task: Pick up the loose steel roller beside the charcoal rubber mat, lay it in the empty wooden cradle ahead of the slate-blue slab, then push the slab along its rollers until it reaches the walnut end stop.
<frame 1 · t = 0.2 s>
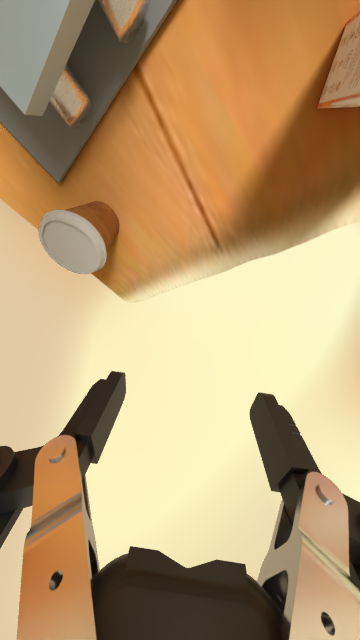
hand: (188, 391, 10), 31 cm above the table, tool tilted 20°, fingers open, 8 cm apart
disposable coffee cup: (103, 220, 34), on the table
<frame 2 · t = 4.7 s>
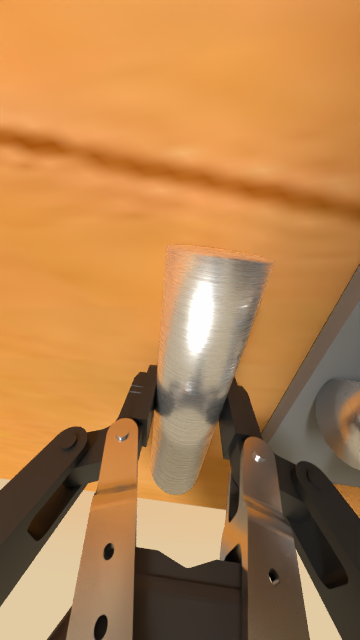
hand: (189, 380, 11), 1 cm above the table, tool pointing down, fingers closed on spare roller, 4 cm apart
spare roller: (196, 371, 12), on the table, tilted 12°, touching gripper
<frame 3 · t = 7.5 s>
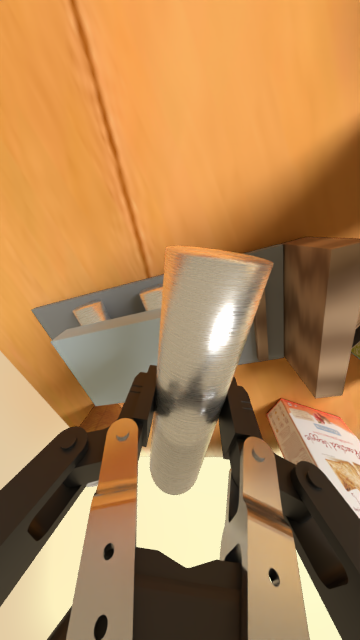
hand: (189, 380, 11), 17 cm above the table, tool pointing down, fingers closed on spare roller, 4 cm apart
mat: (161, 331, 29), on the table
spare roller: (195, 372, 12), point 16 cm above the table, tilted 13°, touching gripper
disposable coffee cup: (109, 408, 40), on the table
bed rollers: (143, 337, 29), resting on mat
wooden stops: (233, 316, 27), on the table
cracker box: (301, 413, 37), on the table
slab: (132, 360, 24), point 7 cm above the table, slide at 0.0 cm
when the fingers open (3 cm above the table, at t = 10.5 s): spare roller stays where it is, resting on mat.
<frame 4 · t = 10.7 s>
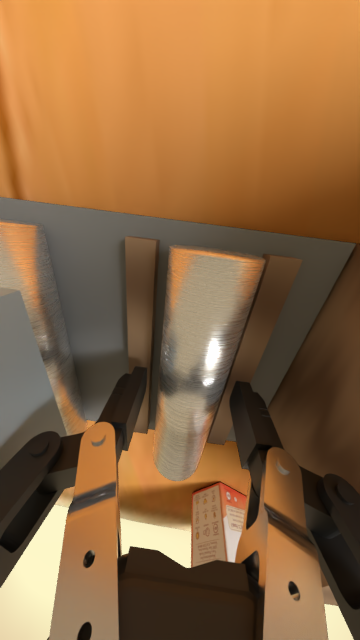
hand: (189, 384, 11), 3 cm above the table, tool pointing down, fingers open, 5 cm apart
mat: (41, 333, 14), on the table
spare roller: (196, 364, 13), point 1 cm above the table, tilted 12°, touching mat
wooden stops: (190, 354, 14), on the table
cracker box: (238, 500, 26), on the table
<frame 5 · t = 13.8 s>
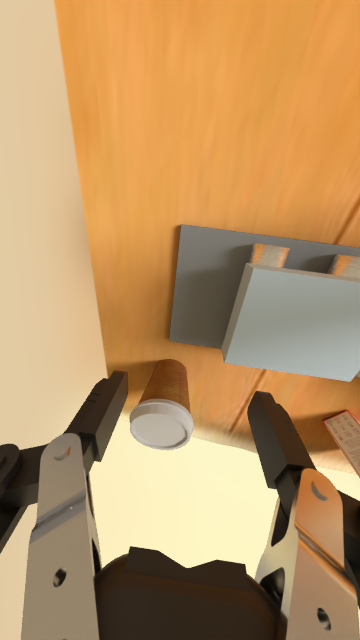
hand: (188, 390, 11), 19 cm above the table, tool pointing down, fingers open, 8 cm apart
mat: (297, 307, 27), on the table
disposable coffee cup: (171, 370, 35), on the table
bed rollers: (280, 307, 26), resting on mat
cracker box: (350, 428, 38), on the table
slab: (301, 326, 21), point 7 cm above the table, slide at 0.0 cm
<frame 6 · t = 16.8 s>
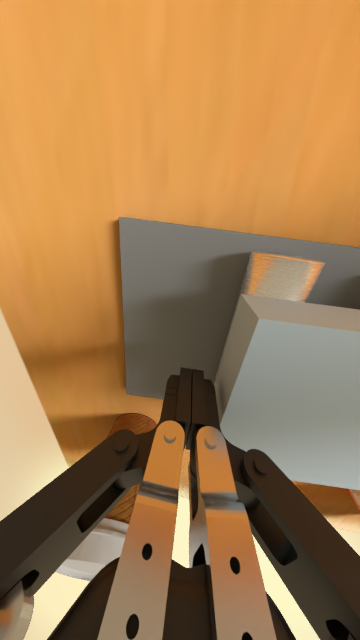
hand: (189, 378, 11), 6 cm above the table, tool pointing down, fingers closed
mat: (320, 349, 17), on the table
disposable coffee cup: (137, 425, 25), on the table
bed rollers: (295, 351, 16), resting on mat
slab: (347, 410, 11), point 7 cm above the table, slide at 0.3 cm, touching gripper
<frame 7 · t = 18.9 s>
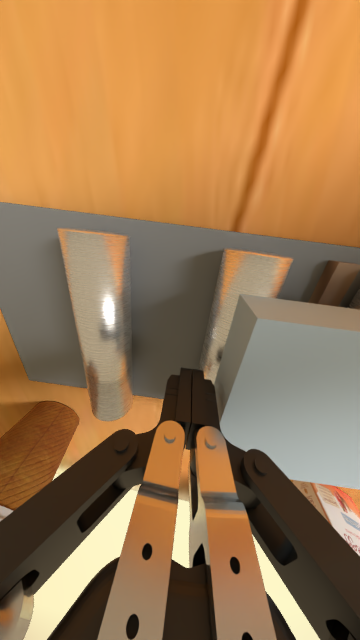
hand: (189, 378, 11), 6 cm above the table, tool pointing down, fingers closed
mat: (200, 333, 17), on the table
disposable coffee cup: (58, 414, 25), on the table
bed rollers: (169, 334, 16), resting on mat
wooden stops: (323, 349, 17), on the table
cracker box: (311, 482, 29), on the table
slab: (346, 409, 11), point 7 cm above the table, slide at 12.0 cm, touching gripper
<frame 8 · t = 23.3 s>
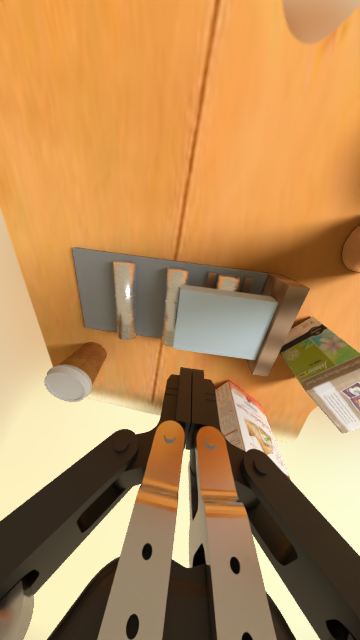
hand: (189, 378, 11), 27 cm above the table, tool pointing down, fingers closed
mat: (166, 302, 38), on the table
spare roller: (223, 312, 37), point 1 cm above the table, tilted 28°, touching mat
disposable coffee cup: (95, 351, 47), on the table
tea box: (305, 348, 41), on the table
bed rollers: (152, 302, 37), resting on mat
wooden stops: (220, 309, 38), on the table
cracker box: (237, 395, 50), on the table
slab: (219, 323, 32), point 7 cm above the table, slide at 14.0 cm
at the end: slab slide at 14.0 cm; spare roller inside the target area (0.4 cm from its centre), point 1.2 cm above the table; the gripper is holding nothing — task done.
